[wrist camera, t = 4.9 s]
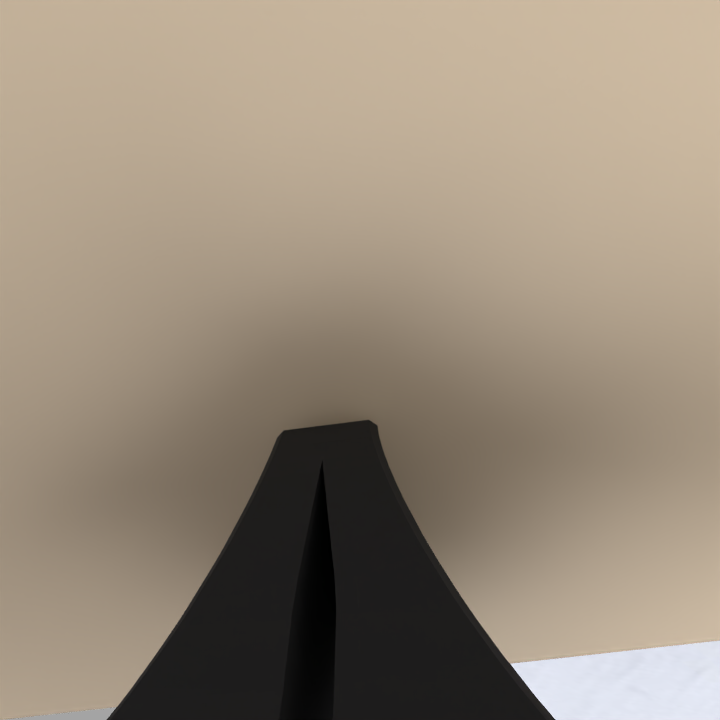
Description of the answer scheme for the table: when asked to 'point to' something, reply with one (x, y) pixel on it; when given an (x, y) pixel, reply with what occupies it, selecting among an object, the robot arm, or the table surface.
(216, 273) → the lid
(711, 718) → the table surface
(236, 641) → the robot arm
